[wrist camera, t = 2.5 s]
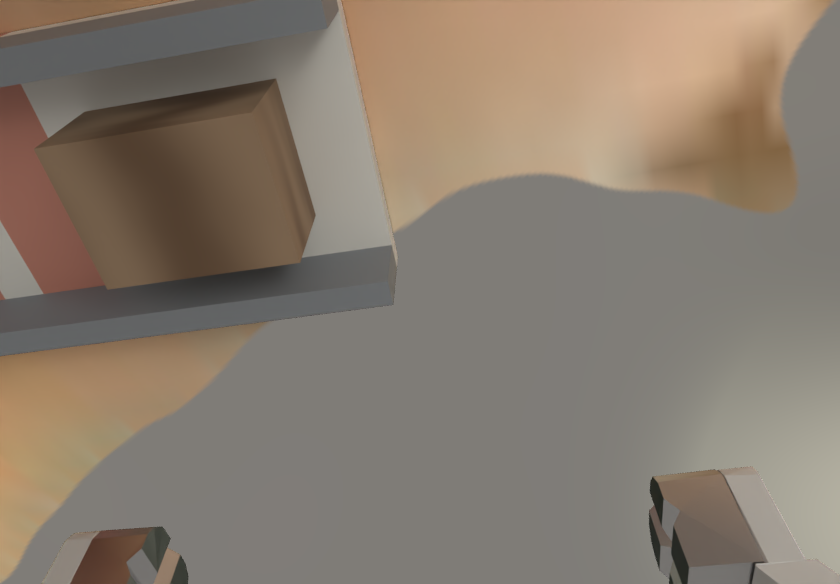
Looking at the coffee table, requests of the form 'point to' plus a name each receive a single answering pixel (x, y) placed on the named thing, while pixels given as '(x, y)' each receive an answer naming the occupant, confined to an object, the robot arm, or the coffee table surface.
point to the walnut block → (183, 185)
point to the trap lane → (171, 76)
